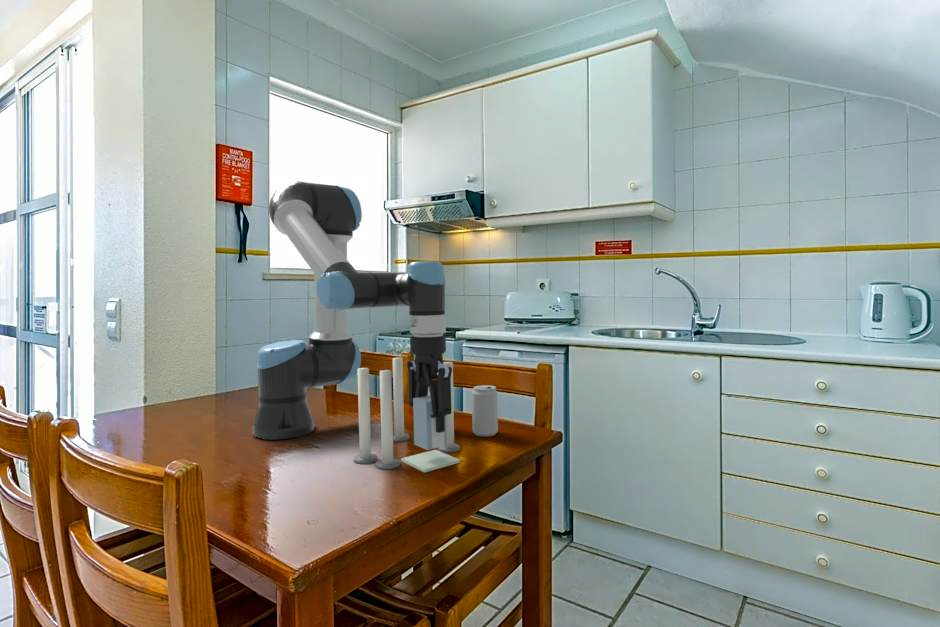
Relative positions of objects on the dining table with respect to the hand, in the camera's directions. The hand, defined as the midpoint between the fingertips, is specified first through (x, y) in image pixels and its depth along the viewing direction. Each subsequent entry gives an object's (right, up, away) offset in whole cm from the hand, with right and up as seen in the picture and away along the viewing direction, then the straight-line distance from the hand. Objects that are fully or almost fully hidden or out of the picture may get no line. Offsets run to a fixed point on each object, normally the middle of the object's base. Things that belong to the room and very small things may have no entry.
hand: (430, 443), depth 111 cm
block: (0, 0, 0) cm, 0 cm away
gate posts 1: (-12, -4, +10) cm, 16 cm away
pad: (0, -4, 0) cm, 4 cm away
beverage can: (+12, -3, +20) cm, 24 cm away
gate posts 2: (-3, -4, +4) cm, 6 cm away
